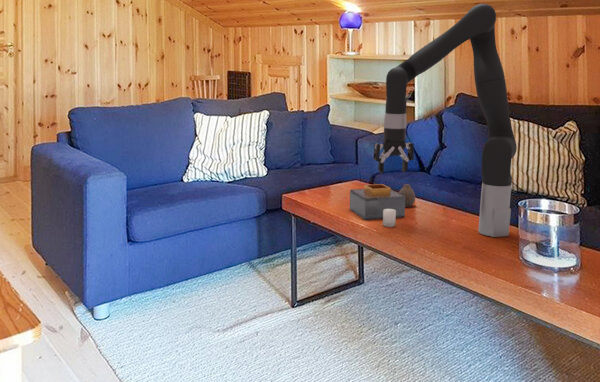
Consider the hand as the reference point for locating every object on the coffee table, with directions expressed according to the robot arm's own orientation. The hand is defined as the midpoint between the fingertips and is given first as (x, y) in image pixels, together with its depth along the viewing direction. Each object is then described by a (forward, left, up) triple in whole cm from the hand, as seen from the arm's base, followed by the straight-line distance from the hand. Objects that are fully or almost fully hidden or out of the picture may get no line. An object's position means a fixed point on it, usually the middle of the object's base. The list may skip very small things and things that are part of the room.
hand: (392, 172), depth 189 cm
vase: (+21, -17, -19) cm, 33 cm away
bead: (-2, +1, -19) cm, 19 cm away
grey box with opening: (+16, -1, -19) cm, 25 cm away
